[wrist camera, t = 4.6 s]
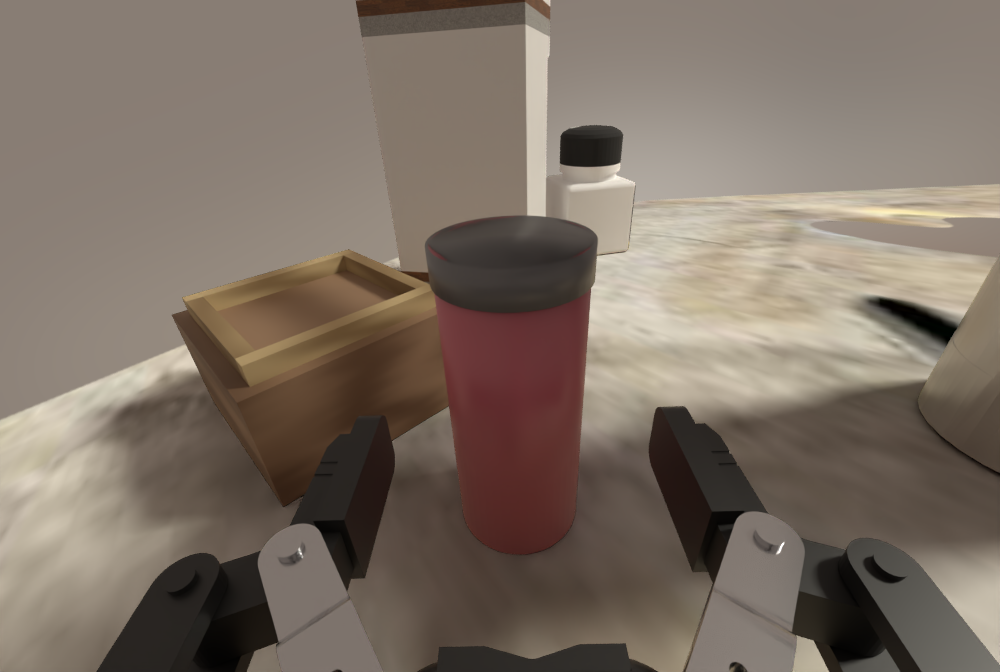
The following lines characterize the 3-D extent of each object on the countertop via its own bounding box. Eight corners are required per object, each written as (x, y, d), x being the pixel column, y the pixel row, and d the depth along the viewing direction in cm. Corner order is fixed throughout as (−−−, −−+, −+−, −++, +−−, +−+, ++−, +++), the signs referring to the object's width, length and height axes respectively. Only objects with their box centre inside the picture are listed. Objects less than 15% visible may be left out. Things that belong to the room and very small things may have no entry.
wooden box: (372, 333, 33) (353, 244, 29) (467, 394, 26) (456, 287, 22) (213, 401, 26) (163, 298, 23) (283, 506, 19) (227, 381, 16)
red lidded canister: (516, 442, 22) (509, 208, 16) (601, 499, 19) (632, 233, 13) (436, 503, 19) (390, 243, 13) (522, 584, 16) (513, 288, 10)
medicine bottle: (629, 251, 46) (643, 127, 40) (565, 259, 45) (570, 132, 38) (601, 232, 52) (609, 121, 46) (544, 239, 51) (545, 126, 45)
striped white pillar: (546, 256, 46) (553, -262, 28) (528, 300, 37) (521, -419, 19) (445, 252, 48) (392, -225, 30) (404, 292, 39) (297, -348, 22)
